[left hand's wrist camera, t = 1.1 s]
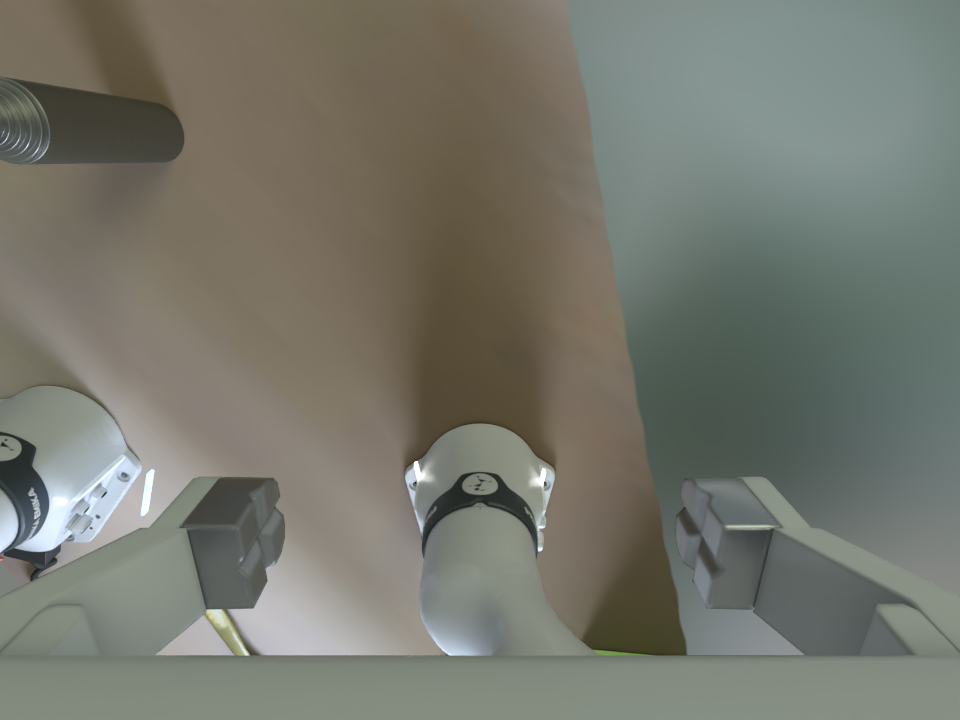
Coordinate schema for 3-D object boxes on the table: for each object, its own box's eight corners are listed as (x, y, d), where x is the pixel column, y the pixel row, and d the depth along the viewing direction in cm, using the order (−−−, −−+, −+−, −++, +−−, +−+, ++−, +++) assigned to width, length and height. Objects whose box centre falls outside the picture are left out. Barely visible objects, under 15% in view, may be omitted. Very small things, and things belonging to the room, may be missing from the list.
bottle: (123, 149, 53) (-103, 144, 32) (132, 92, 51) (-102, 49, 30) (178, 170, 53) (-9, 179, 33) (189, 115, 52) (-3, 89, 31)
